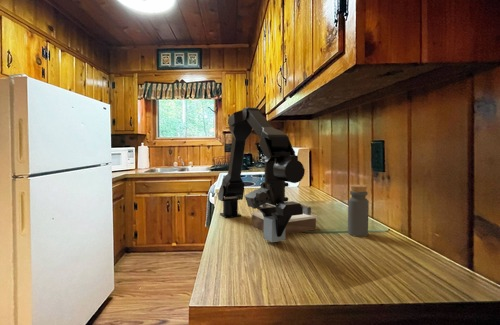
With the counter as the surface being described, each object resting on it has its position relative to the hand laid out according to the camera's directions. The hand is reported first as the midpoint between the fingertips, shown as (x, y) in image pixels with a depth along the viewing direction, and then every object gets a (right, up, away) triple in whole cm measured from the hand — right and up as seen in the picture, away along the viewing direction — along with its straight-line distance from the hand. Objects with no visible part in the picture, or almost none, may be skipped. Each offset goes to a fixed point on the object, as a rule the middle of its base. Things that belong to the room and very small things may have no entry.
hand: (274, 234), depth 84 cm
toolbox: (+4, -1, +16) cm, 16 cm away
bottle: (+26, -2, +8) cm, 28 cm away
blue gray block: (0, -1, 0) cm, 1 cm away
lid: (+4, +2, +16) cm, 16 cm away
